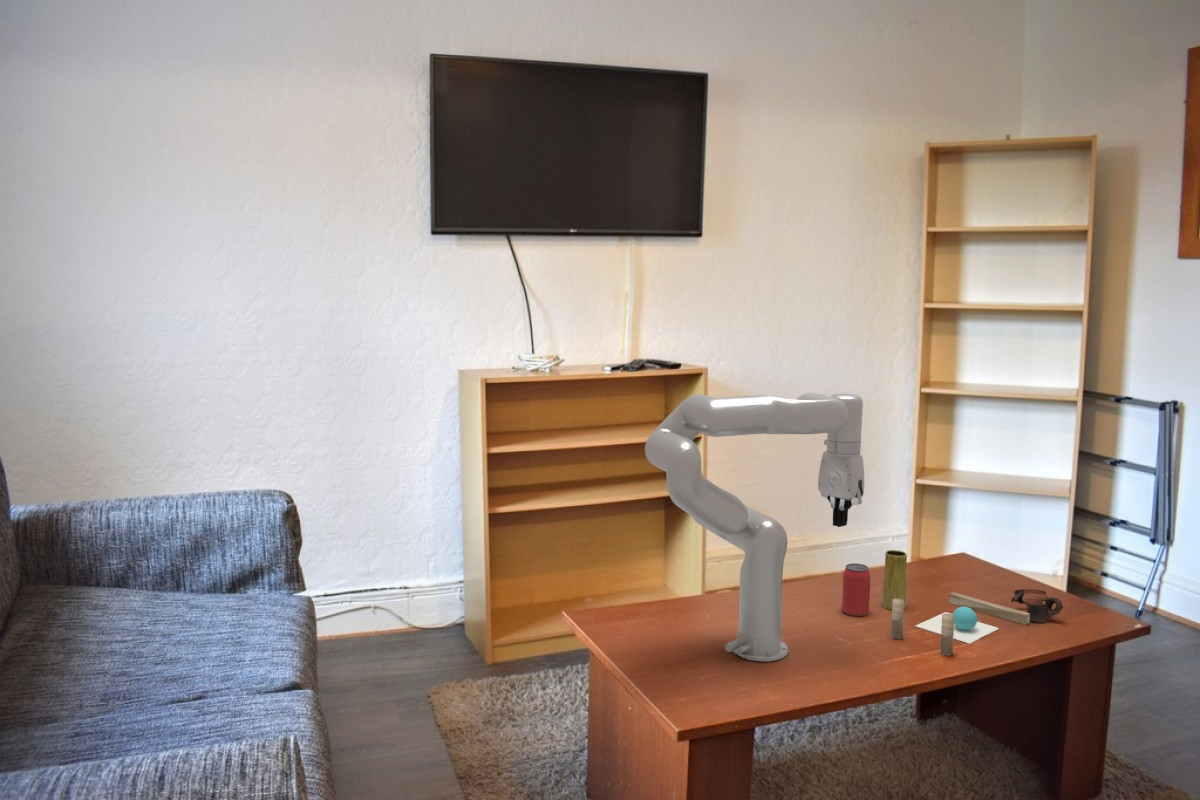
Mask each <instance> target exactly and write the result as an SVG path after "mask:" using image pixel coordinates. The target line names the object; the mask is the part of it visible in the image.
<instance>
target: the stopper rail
mask: <svg viewBox="0 0 1200 800" xmlns="http://www.w3.org/2000/svg"><path fill="white" fill-rule="evenodd" d="M948 597H949V600H948V603H949V604H951V605H955V606H958V607H968V608H970V609H972V610H973V611H974V612H978V611H979V613H981V612H983V613H982V614H985V613H986V614H985V615H988V614H989V616H992V617H995V616H996V617H995V618H998V617H1000V618H999V619H1003V620H1005V621H1009V622H1012V623H1015V622H1016V624H1019V623H1020V625H1022V624H1023V626H1027V625H1028V624H1030V621H1029V619H1030V614H1029V613H1026V611H1023V610H1018V609H1015V608H1012V607H1008V606H1004V605H1001V604H998V603H995V602H994V603H993V602H990V601H986V600H982V599H980V598H975V597H972V596H968V595H966V594H963V593H962V594H961V593H958V592H955V591H954V592H950V593H949V596H948Z"/></svg>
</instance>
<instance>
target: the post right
mask: <svg viewBox="0 0 1200 800" xmlns="http://www.w3.org/2000/svg"><path fill="white" fill-rule="evenodd" d="M944 613H945V612H944ZM947 613H948V612H947ZM947 613H945V614H942V613H941V614H942V629H941V635H940V650H939V651H940V652H939V654H940V655H942V654H943V655H942V656H944V655H947V656H946V657H949V656H948V655H952V654H953V651H954V639H953V636H954V617H955V616H954V615H952V614H953V613H951V614H947ZM952 656H953V655H952Z"/></svg>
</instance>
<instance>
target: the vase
mask: <svg viewBox="0 0 1200 800" xmlns="http://www.w3.org/2000/svg"><path fill="white" fill-rule="evenodd" d="M884 555H885V559H884V571H883V573H884V575H883V583H882V584H883V586H882V587H883V588H882V596H881V597H882V599H881V600H882V601H881V606H882V607H883V608H884V609H886V608H887V609H886V610H890V609H892V600H893V599H895V598H898V599H903V600H904V610H906V609H907V557H908V555H907V552H906V551H902V550H897V549H891V550H890V549H889V550H886V551H885V553H884Z"/></svg>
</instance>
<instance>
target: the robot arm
mask: <svg viewBox="0 0 1200 800" xmlns="http://www.w3.org/2000/svg"><path fill="white" fill-rule="evenodd" d="M863 403H864V401H863V397H861V396H860V395H858V394H854V393H842V392H841V393H834V394H822V393H815V392H807V393H804V394H801V395H800V396H797V398H796V399H791V398H790V399H789V398H784V397H778V396H773V395H766V394H765V395H764V394H763V395H761V394H760V395H759V394H758V395H744V396H721V397H716V396H715V397H714V396H711V395H706V394H703V393H695V394H692V395H691V396H688V397H687V398H686V399H684V400H683V401H682V402H681V403H680V404H678V406H677V407H676V408H674V409H673V411H672V412H671V413H670V414H668V416H667V417H666V418H664V420H663V421H662V422H661V423H660V424H659V425H657V427H656V428H655V429H654V430H653V431H652V432H651V434H650V435H649V436H648V438H647V440H646V442H645V445H644V452H645V453H644V454H645V456H646V458H647V460H648V461H649V463H650V464H651V465H653V466H654V467H656V468H657V469H660V470H661V471H664V472H665V473H666V486H667V493H668V495H669V497H670V499H671V502H672V503H673V504H674V505H675V506H677V508H679V509H680V510H682V511H683V512H685V513H687V515H690V516H691V518H692V519H693V521H694V522H695V523H696V524H698V525H699V526H701V527H703V528H704V529H706V530H708V532H711V533H713V534H714V535H716V536H718V537H719V538H721V539H723V540H724V541H725V542H727V543H730V544H731V545H733V546H734V547H736V548H738V549H739V550H741V551H742V552H744V559H743V561H742V563H741V566H740V570H739V571H740V572H739V595H738V597H739V598H738V599H739V600H738V601H739V610H738V616H739V617H738V632H737V633H736V635H735V639H734V640H733V641H730V642H727V643H725V646H724V647H725V651H727V652H728V653H731V652H733V654H735V655H736V654H737V655H738V656H737V655H736V656H737V657H739V656H740V658H741V657H742V659H744V658H745V659H744V660H748V661H753V662H761V663H762V662H764V663H766V662H775V661H780V660H782V659H784V658H785V657H786V656H788V652H789V647H788V645H787V644H786V643H785V642H784V641H782V621H783V620H782V619H783V618H782V616H783V614H782V612H783V571H784V563H785V558H786V557H785V556H786V552H787V549H788V535H787V532H786V529H785V528H784V526H783V525H782V524H781V523H780V522H779V521H778V520H777V519H774V518H772V517H770V516H769V515H767V514H764V513H762V512H760V511H758V510H756V509H754V508H752V507H750V506H748V505H746V504H744V503H743V501H742V500H740V498H739V497H738V496H736V495H734V494H733V493H732V492H730V491H727V490H725V489H723V488H721V487H720V486H718V485H716V484H714V483H713V482H711V481H710V479H707V478H706V477H705V476H704V474H703V470H702V465H703V464H702V454H701V451H700V449H699V447H698V445H697V444H696V443H695V441H694V440H695V439H696V437H697V436H698V435H699V434H701V435H704V436H707V437H713V438H721V437H734V436H748V435H749V436H750V435H762V434H763V435H817V434H827V436H826V439H824V441H823V444H824V446H826V450H824V451H823V452H822V457H821V460H820V464H819V472H818V480H817V490H818V492H820V496H821V497H823V498H825V499H827V500H828V502H829V503H830V508H831V509H832V526H834V527H838V528H841V527H845V526H847V524H848V515H849V510H850V509H851V508H852V506H859V505H862V504H863V499H862V497H864V493H865V465H864V458H863V455H862V454H861V448H862V447H861V446H862V445H861V444H862V425H863V424H862V423H863V406H864V405H863Z"/></svg>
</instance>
